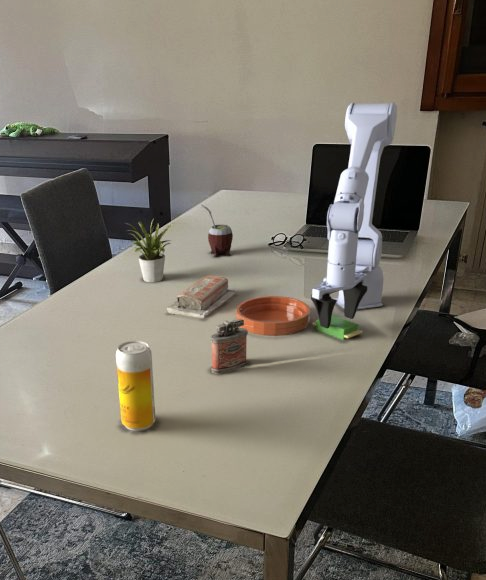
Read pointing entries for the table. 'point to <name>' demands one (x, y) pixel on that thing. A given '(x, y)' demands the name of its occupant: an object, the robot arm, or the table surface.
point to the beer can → (135, 385)
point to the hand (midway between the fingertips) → (337, 322)
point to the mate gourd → (219, 238)
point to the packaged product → (202, 297)
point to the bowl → (273, 315)
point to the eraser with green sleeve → (339, 328)
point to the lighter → (229, 347)
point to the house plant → (151, 254)
